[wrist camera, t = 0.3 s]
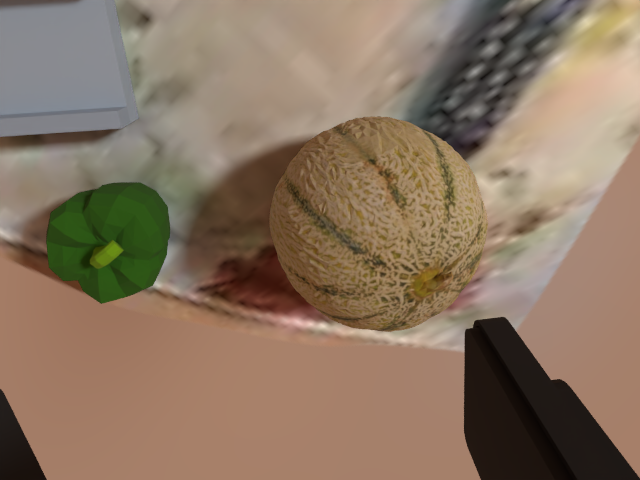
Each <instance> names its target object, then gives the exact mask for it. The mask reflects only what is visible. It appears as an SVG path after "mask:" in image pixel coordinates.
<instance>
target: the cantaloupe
mask: <svg viewBox="0 0 640 480" xmlns="http://www.w3.org/2000/svg"><path fill="white" fill-rule="evenodd" d="M269 221H270V226H269V228H270V231H271V237H272V240H273V243H274V246H275V249H276V251H277V255H278V260H279V262H280V264H281V267H282V268H283V270H284V271H285V273H286V275H287V278H288V280H289V281H290V283H291V284H292V286H293V287H294V289H295V290H296V291H297V292H298V293H300V295H301V296H302V297H303V298H305V299H306V301H307V302H308V303H309V304H311V305H312V306H314V307H315V308H316V309H317V310H318V311H319V312H321V313H322V314H323V315H325V316H327V317H328V318H330V319H332V320H334V321H336V322H338V323H342V324H343V325H346V326H349V327H352V328H358V329H370V330H378V331H388V332H391V331H394V330H404V329H408V328H412V327H415V326H417V325H419V324H421V323H423V322H425V321H426V320H427V319H429V318H431V317H433V316H435V315H437V314H439V313H441V312H442V311H444V310H445V309H446V308H448V307H449V306H450V305H451V304H452V303H453V302H454V301H455V300H456V298H457V297H458V295H459V293H460V292H461V291H462V290H463V289H464V288H465V286H466V285H467V284H468V283H469V282H470V280H471V279H472V277H473V275H474V273H475V271H476V269H477V268H478V265H479V262H480V260H481V256H482V252H483V247H484V244H485V240H486V235H487V225H488V221H487V213H486V210H485V206H484V203H483V201H482V198H481V194H480V190H479V187H478V185H477V182H476V178H475V175H474V174H473V172H472V171H471V170H470V167H469V165H468V164H467V163H466V162H465V161H464V160H463V158H462V157H461V156H460V155H459V154H458V153H457V152H456V151H454V149H453V148H452V147H451V146H450V145H448V144H447V142H446V141H442V140H441V139H440V138H438V137H437V136H435V135H434V134H432V133H429V132H427V131H425V130H422V129H420V128H419V127H417V126H415V125H413V124H411V123H409V122H406V121H401V120H397V119H393V118H390V117H380V116H378V117H363V118H356V119H353V120H349V121H347V122H345V123H342V124H339V125H337V126H336V127H334V128H332V129H330V130H327V131H324V132H322V133H320V134H319V135H317V136H316V137H314V138H313V139H312V140H310V141H308V142H307V143H306V144H305V145H304V146H303V147H302V148H301V149H300V151H299V152H298V154H297V155H296V156H295V157H294V158H293V159H292V161H291V162H290V163H289V165H288V167H287V169H286V171H285V173H284V174H283V176H282V177H281V179H280V180H279V182H278V184H277V186H276V188H275V191H274V195H273V199H272V204H271V207H270V217H269Z"/></svg>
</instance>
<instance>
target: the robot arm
mask: <svg viewBox="0 0 640 480" xmlns="http://www.w3.org/2000/svg"><path fill="white" fill-rule="evenodd" d="M464 375H465V379H464V381H465V382H464V433H465V439H466V443H467V446H468V449H469V451H470V454H471V456H472V459H473V461H474V464H475V466H476V468H477V471H478V473H479V476H480V478H481V480H640V478H639V477H638V476H637V474H636V473H635V472H634V470H633V469H632V468H631V466H630V465H629V464H628V463H627V461H626V460H625V458H624V457H623V456H622V454H621V453H620V452H619V451H618V449H617V448H616V447H615V445H614V444H613V443H612V441H611V440H610V439H609V437H608V436H607V435H606V433H605V432H604V431H603V430H602V428H601V427H600V426H599V424H598V423H597V422H596V420H595V419H594V418H593V417H592V415H591V414H590V412H589V411H588V410H587V408H586V407H585V406H584V405H583V403H582V402H581V401H580V399H579V398H578V397H577V395H576V394H575V393H574V392H573V390H572V389H571V388H570V386H568V384H567V383H566V382H564V381H562V380H560V379H557V380H550V378H549V377H548V375H547V374H546V373H545V371H544V370H543V368H542V367H541V366H540V364H539V363H538V361H537V360H536V359H535V357H534V356H533V354H532V353H531V352H530V350H529V349H528V348H527V346H526V345H525V343H524V342H523V341H522V339H521V338H520V337H519V335H518V334H517V332H516V331H515V329H514V328H513V327H512V325H511V324H510V323H509V321H508V320H507V319H506V318H505V317H498V318H490V319H482V320H476V321H475V322H474V325H473V328H470V329H466V331H465V374H464ZM0 480H47V479H46V477H45V475H44V473H43V471H42V470H41V467H40V465H39V463H38V461H37V459H36V457H35V455H34V453H33V451H32V449H31V447H30V445H29V443H28V441H27V439H26V437H25V435H24V433H23V431H22V429H21V427H20V425H19V423H18V421H17V419H16V417H15V415H14V413H13V411H12V409H11V407H10V405H9V403H8V401H7V399H6V397H5V395H4V393H3V391H2V390H1V389H0Z"/></svg>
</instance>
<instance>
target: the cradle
mask: <svg viewBox="0 0 640 480" xmlns="http://www.w3.org/2000/svg"><path fill="white" fill-rule="evenodd" d="M137 119H139V117H138V113H137V108H136V103H135V98H134V94H133V89H132V84H131V79H130V74H129V70H128V65H127V60H126V55H125V51H124V46H123V41H122V36H121V31H120V27H119V22H118V17H117V12H116V8H115V3H114V0H0V137H4V136H19V135H34V134H48V133H63V132H78V131H92V130H107V129H122V128H123V127H125V126H127V125H128V124H130V123H132V122H133V121H135V120H137Z"/></svg>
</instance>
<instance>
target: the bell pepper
mask: <svg viewBox="0 0 640 480" xmlns="http://www.w3.org/2000/svg"><path fill="white" fill-rule="evenodd" d="M169 237H170V222H169V214H168V207H167V205H166V204H165V202H164V201H163V200H162V198H161V197H160V196H159V194H158V193H157V192H156V191H155V190H153V189H151V188H149V187H148V186H146V185H144V184H142V183H111V184H106V185H102V186H101V187H100V188H98V189H95V190H89V191H85V192H81V193H78V194H76V195H75V196H73V197H72V198H70V199H69V200H68V201H66V202H65V203H63V204H62V205H61V206H59V207H58V208H56V209H55V210H54V211H52V212H51V214H50V219H49V224H48V229H47V238H46V242H47V252H48V262H49V268H50V269H51V270H52V271H53V272H54V273H55V274H56V275H58V276H59V277H60V278H61V279H62V280H63V281H73V280H78V281H79V283H80V285H81V288H82V290H83V291H84V292H85V293H87V294H88V295H89V296H91V297H92V298H94V299H95V300H97V301H98V302H100V303H101V304H102V303H106V302H109V301H113V300H117V299H120V298H124V297H127V296H130V295H133V294H136V293H138V292H140V291H142V290H144V289H146V288H148V287H150V286H153V284H154V282H155V280H156V278H157V276H158V274H159V272H160V270H161V267H162V265H163V263H164V260H165V258H166V255H167V246H168V239H169Z"/></svg>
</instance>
